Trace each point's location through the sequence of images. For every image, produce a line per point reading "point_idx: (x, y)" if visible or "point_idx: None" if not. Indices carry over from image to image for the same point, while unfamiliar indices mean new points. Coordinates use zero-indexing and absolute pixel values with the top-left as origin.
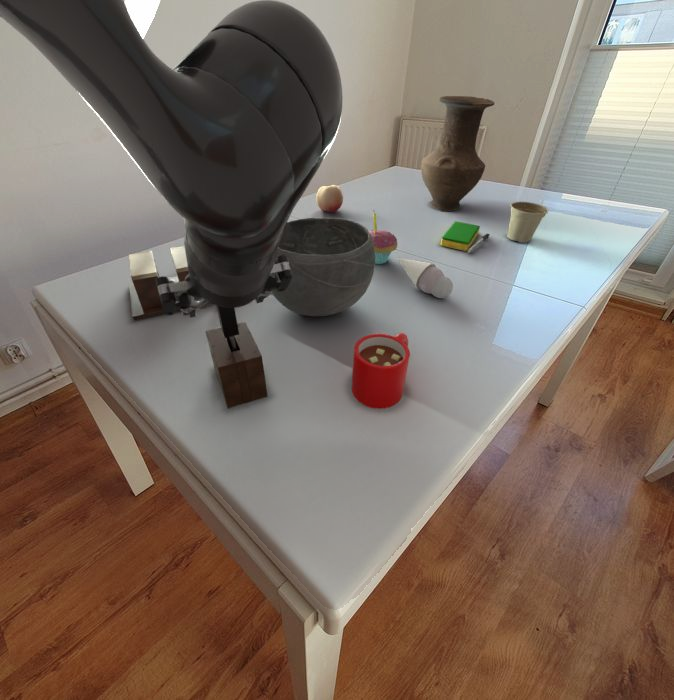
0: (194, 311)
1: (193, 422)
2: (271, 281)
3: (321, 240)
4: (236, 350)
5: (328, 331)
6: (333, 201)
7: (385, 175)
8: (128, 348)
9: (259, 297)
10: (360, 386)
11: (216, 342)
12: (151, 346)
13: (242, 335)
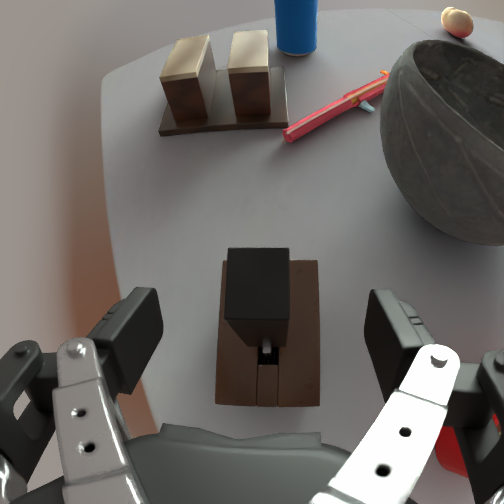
0: (135, 382)
1: (177, 398)
2: (458, 409)
3: (479, 87)
4: (270, 356)
5: (452, 265)
6: (463, 27)
7: (500, 25)
8: (136, 190)
9: (380, 386)
10: (452, 459)
11: None
12: (163, 195)
13: (298, 312)
